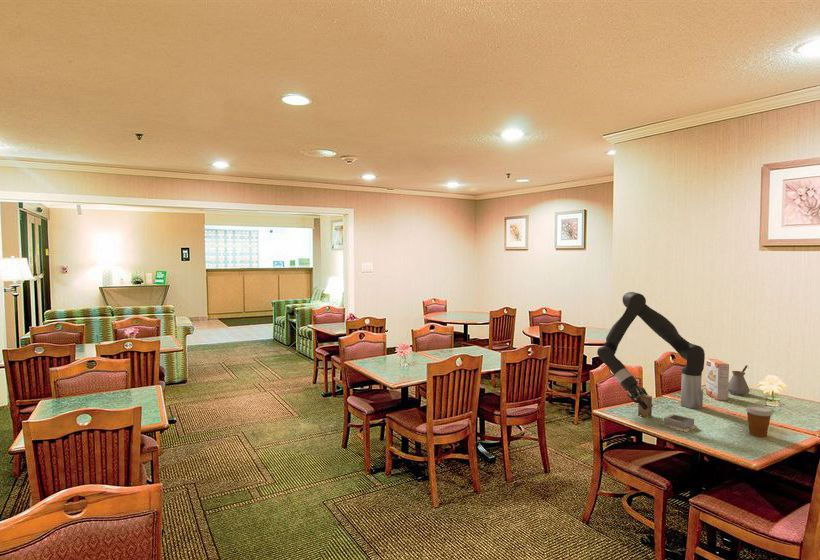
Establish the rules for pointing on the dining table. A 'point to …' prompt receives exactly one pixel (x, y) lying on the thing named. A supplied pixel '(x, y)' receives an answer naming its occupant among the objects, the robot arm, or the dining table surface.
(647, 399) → the block
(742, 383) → the coffee pot
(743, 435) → the dining table surface
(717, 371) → the cracker box
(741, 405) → the dining table surface
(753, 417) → the disposable coffee cup
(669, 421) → the gray square tray
